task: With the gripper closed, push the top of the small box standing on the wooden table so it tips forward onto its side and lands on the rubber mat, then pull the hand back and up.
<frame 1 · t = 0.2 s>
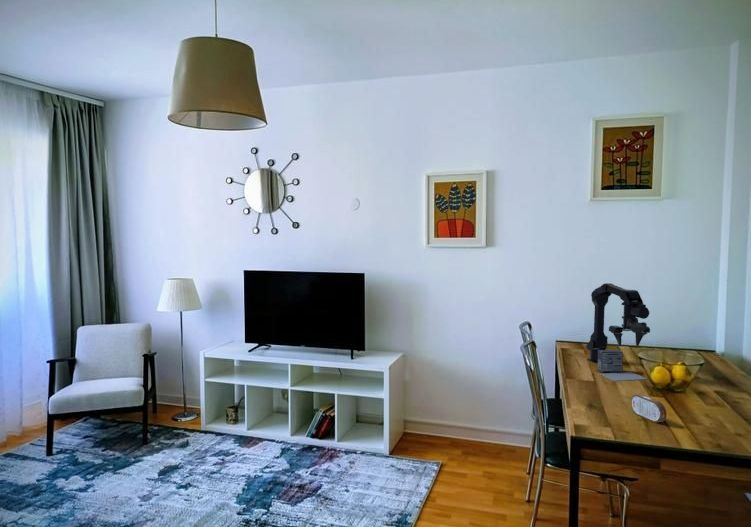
hand: (628, 346, 255), 14 cm above the table, tool pointing down, fingers open, 9 cm apart
small box: (610, 371, 260), on the table, touching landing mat
tin: (647, 419, 194), on the table
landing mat: (622, 376, 251), on the table
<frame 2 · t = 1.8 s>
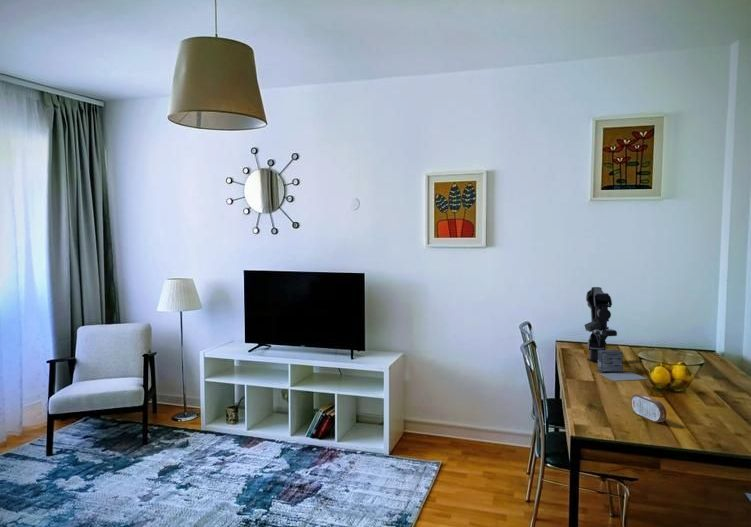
hand: (600, 346, 268), 11 cm above the table, tool pointing down, fingers closed
nothing on the table moved.
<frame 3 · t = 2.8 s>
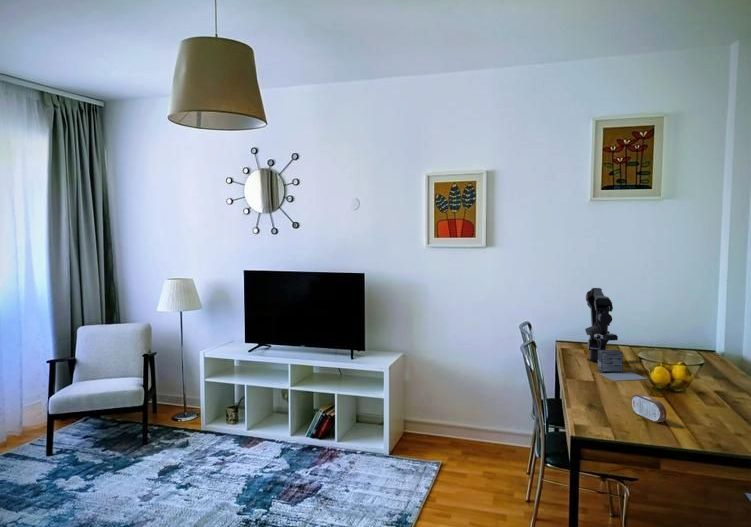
hand: (601, 350, 267), 9 cm above the table, tool pointing down, fingers closed
nothing on the table moved.
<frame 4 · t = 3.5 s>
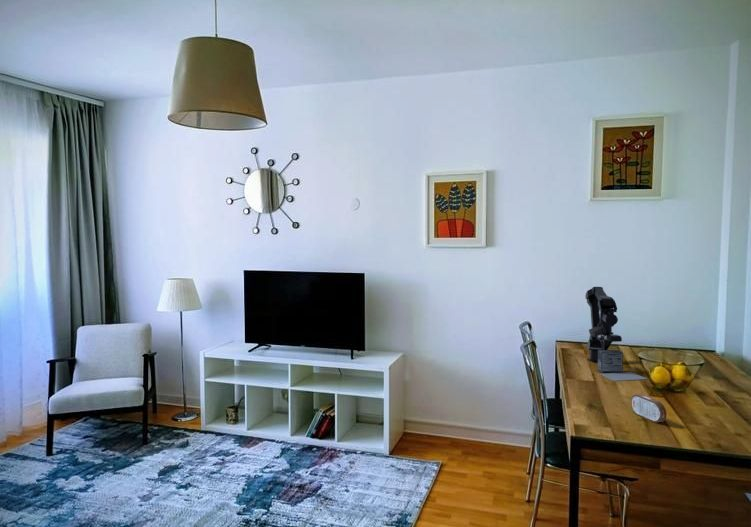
hand: (604, 351, 264), 9 cm above the table, tool pointing down, fingers closed
small box: (610, 371, 260), on the table, touching gripper, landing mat
everything else where it was.
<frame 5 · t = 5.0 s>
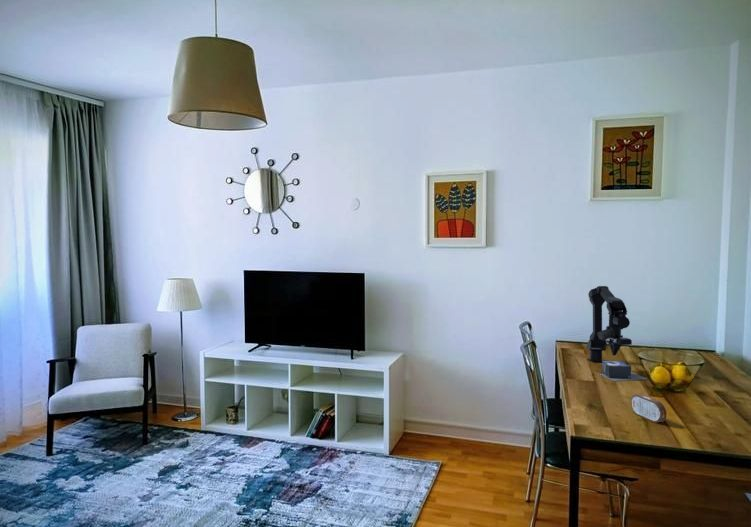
hand: (614, 355, 257), 9 cm above the table, tool pointing down, fingers closed
small box: (612, 366, 257), point 4 cm above the table, touching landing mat
everything else where it was.
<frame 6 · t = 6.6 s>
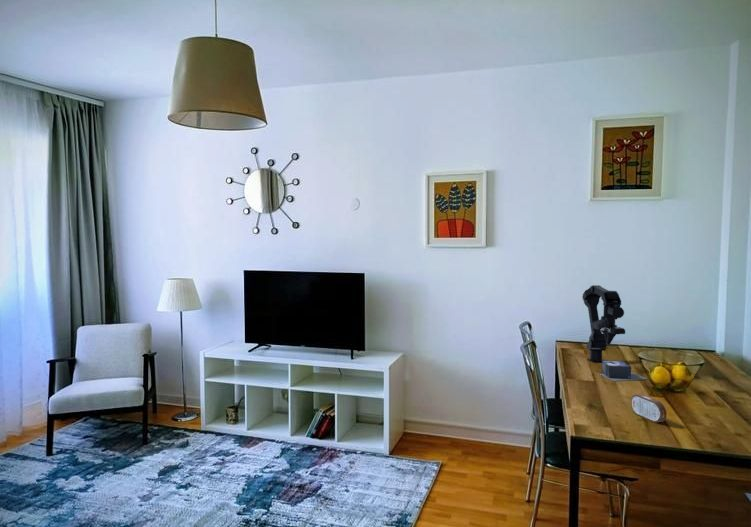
hand: (608, 344, 266), 13 cm above the table, tool pointing down, fingers closed
nothing on the table moved.
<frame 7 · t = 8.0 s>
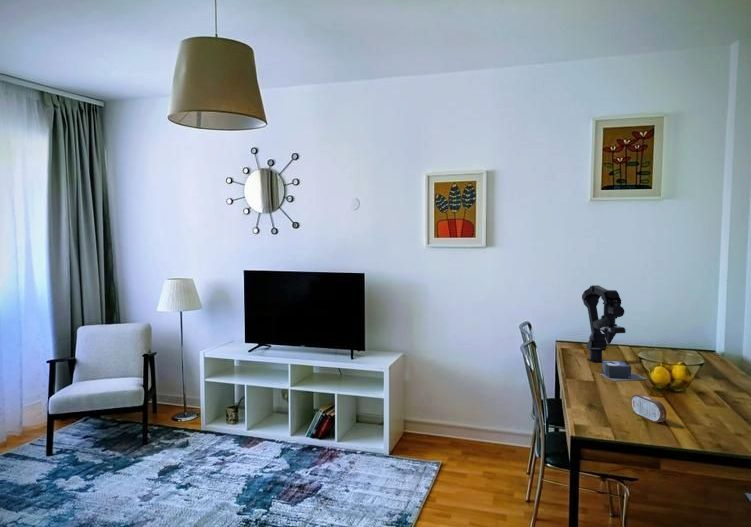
hand: (608, 343, 266), 13 cm above the table, tool pointing down, fingers closed
nothing on the table moved.
at the end: small box tilted 91°; small box inside the target area (2.3 cm from its centre), point 3.5 cm above the table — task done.
